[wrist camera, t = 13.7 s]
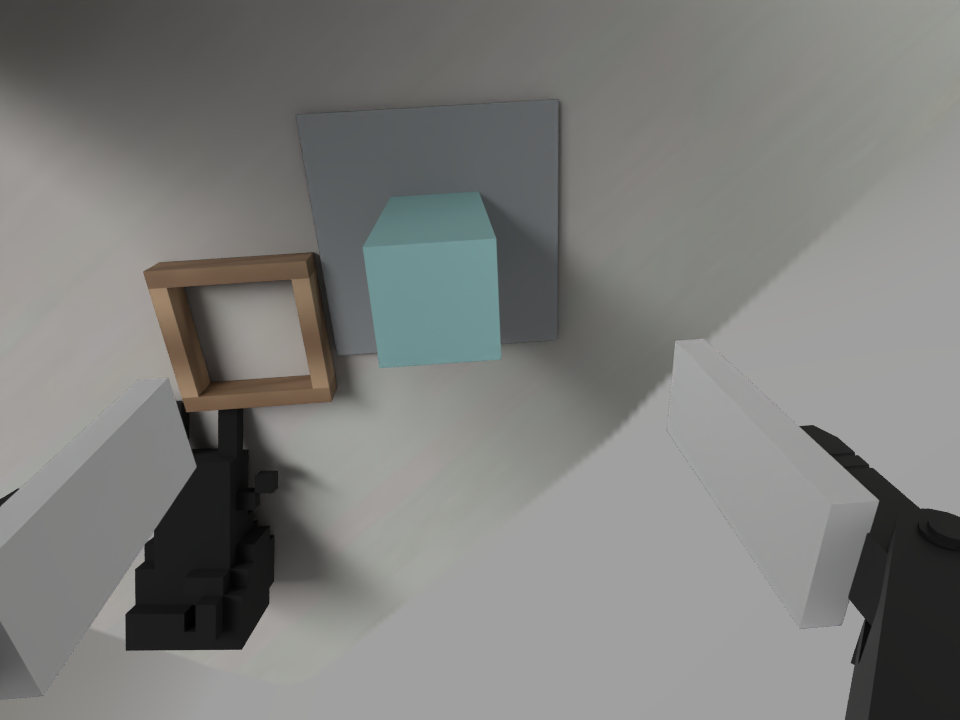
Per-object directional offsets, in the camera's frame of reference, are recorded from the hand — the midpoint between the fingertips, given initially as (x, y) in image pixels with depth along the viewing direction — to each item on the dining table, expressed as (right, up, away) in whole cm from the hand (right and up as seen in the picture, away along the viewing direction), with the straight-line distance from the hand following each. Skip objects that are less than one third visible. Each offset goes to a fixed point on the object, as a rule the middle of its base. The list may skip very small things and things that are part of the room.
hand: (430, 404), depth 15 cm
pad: (-1, +9, +19) cm, 21 cm away
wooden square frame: (-13, +3, +21) cm, 24 cm away
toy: (-17, -8, +26) cm, 32 cm away
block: (-1, +8, +18) cm, 20 cm away
